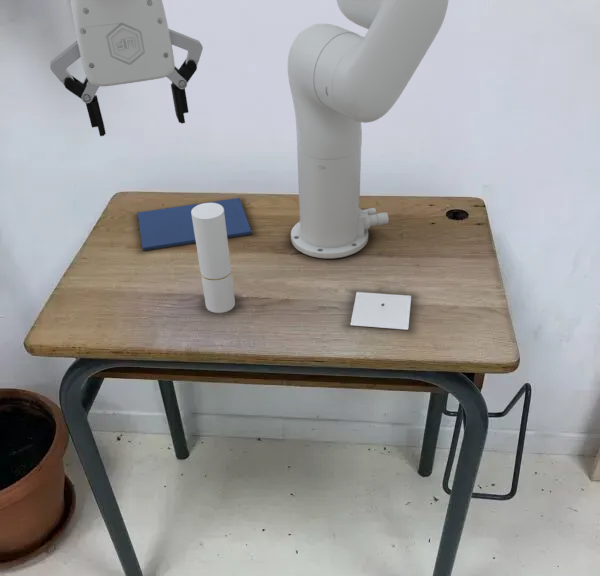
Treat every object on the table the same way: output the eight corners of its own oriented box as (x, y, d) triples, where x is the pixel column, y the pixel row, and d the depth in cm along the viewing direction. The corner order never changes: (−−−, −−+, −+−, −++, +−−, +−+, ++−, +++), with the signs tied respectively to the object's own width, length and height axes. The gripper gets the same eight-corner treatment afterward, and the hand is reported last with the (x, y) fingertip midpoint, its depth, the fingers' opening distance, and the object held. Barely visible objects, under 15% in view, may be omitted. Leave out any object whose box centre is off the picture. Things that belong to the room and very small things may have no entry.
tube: (230, 314, 99) (218, 220, 89) (202, 311, 100) (186, 217, 89) (238, 296, 102) (227, 203, 92) (210, 294, 103) (196, 201, 92)
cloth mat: (239, 200, 123) (239, 197, 123) (251, 234, 115) (251, 231, 114) (138, 215, 121) (137, 212, 120) (143, 250, 112) (142, 247, 112)
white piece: (350, 325, 96) (350, 320, 96) (356, 292, 102) (356, 287, 101) (408, 329, 95) (408, 325, 94) (411, 295, 101) (411, 291, 100)
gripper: (23, -17, 69) (71, 149, 81) (195, -38, 71) (216, 126, 83) (24, -34, 74) (68, 124, 86) (184, -53, 77) (205, 103, 89)
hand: (141, 125), depth 85 cm, fingers open, 9 cm apart
